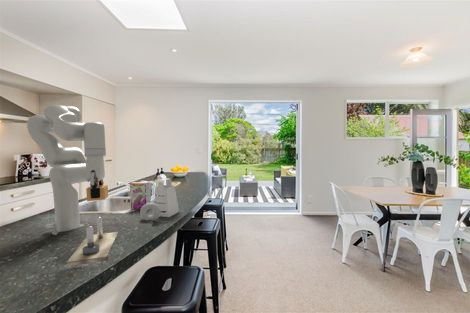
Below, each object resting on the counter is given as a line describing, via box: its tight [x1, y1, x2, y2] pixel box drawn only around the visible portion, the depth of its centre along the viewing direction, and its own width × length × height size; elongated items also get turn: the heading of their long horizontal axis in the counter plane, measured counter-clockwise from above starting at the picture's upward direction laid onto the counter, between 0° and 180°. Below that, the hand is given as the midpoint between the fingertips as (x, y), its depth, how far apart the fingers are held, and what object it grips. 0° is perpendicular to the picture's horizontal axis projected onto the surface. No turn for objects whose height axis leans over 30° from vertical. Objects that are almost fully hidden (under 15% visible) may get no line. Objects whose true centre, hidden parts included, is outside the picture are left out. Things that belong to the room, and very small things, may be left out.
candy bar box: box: [129, 181, 151, 210], centre depth 153 cm, size 11×5×16 cm, turn 77°
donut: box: [139, 202, 160, 222], centre depth 126 cm, size 10×4×10 cm, turn 106°
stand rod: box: [96, 216, 104, 239], centre depth 102 cm, size 2×2×9 cm
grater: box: [152, 177, 180, 218], centre depth 140 cm, size 10×10×20 cm
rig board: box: [66, 231, 119, 267], centre depth 95 cm, size 12×25×2 cm, turn 17°
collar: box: [85, 184, 109, 202], centre depth 101 cm, size 6×6×5 cm
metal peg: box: [83, 225, 99, 256], centre depth 88 cm, size 5×5×10 cm
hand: (97, 195), depth 101 cm, fingers closed on collar, 6 cm apart
